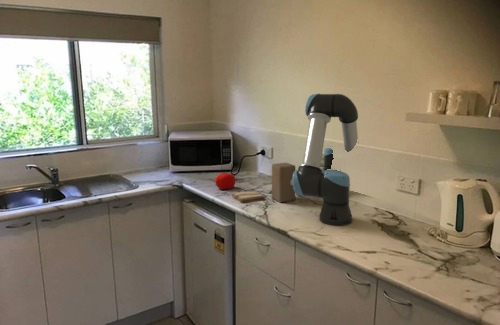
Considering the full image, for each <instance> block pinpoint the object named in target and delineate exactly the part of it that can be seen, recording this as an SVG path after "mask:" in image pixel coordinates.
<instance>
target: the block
mask: <svg viewBox="0 0 500 325" xmlns="http://www.w3.org/2000/svg"><path fill="white" fill-rule="evenodd" d="M294 171H296V165H295V164H291V163H289V162H279V163H273V164H272V165H271V197H272V199H273V200H275V201H277V202H278V203H286V202H293V201H295V200H296V193H295V192H294V189H293V185H290V180H292V178H293V173H294Z"/></svg>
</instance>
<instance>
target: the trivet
mask: <svg viewBox="0 0 500 325" xmlns="http://www.w3.org/2000/svg"><path fill="white" fill-rule="evenodd" d="M231 197H232V198H233V199H235V200H237V201H238V202H240V203H241V204H246V203H253V202H258V201H264V200H265V199H266V197H265V196H264V195H262V194H261V193H258V192H257V191H255V190H247V191H241V192H235V193H231Z"/></svg>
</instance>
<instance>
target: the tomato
mask: <svg viewBox="0 0 500 325" xmlns="http://www.w3.org/2000/svg"><path fill="white" fill-rule="evenodd" d="M214 180H215V181H214V182H215V185H216V187H217V188H218V189H219V190H220V189H221V190H229V189H232V188H234V186H235V184H236V177H235V175H234V174H232V173H230V172H222V173H219V174H218V175H217V176H216V177H215V179H214Z"/></svg>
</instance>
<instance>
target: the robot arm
mask: <svg viewBox="0 0 500 325" xmlns="http://www.w3.org/2000/svg"><path fill="white" fill-rule="evenodd" d="M304 113H305V115H306V117H307V120H309V125H308V131H307V136H306V141H305V146H304V152H303V158H302V163H301V164H300V165H299V166H298V168H297V169H295V171H294V173H293V178H292V180H290V185H293V189H294V192H295V195H299V196H303V197H306V196H307V197H313V198H315V197H316V198H323V204H322V207H321V210H320V213H319V221H320V222H321V223H322V224H325V225H329V226H345V225H349V224H352V222H353V215H352V210H351V207H350V186H351V183H350V180H351V179H350V175H349V174H348V173H346V172H344V171H342V170H340V171H337V170H327V169H331V165H332V160H333V159H334V158H333V154H332V153H333V150H332V149H331V148H326V147H324V144H325V136H326V132H327V126H328V123H331V119H332V118H338V120H339V122H340V123H341V129H342V137H343V145H344V151H345V150H346V151H347V152H349V151H351V150H352V149H353V148H354V146H355V145H356V143H357V139H358V140H359V136H358V135H359V134H358V126H357V125H358V124H357V121H358V120H359V113H358V109H357V107H356V105H355V103H354V102H353V101H352V99H351V98H349V97H348V96H347V95H344V94H341V93H314V94H313V93H312V94H311V95H309V96H308V97H307V100H306V103H305V111H304ZM323 150H324V154H323ZM322 156H323V167H321V161H322Z"/></svg>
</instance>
